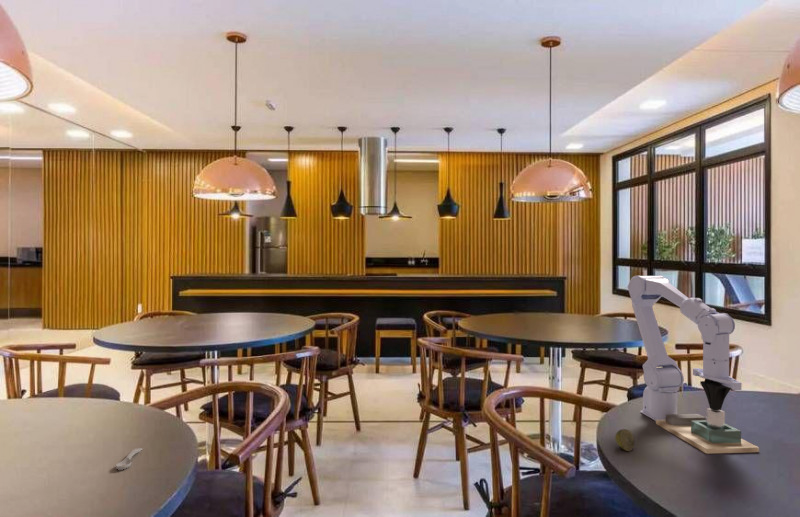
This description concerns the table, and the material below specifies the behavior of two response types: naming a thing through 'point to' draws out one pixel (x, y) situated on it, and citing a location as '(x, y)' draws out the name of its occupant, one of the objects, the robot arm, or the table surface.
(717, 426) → the bushing
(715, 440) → the jig
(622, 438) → the lime
